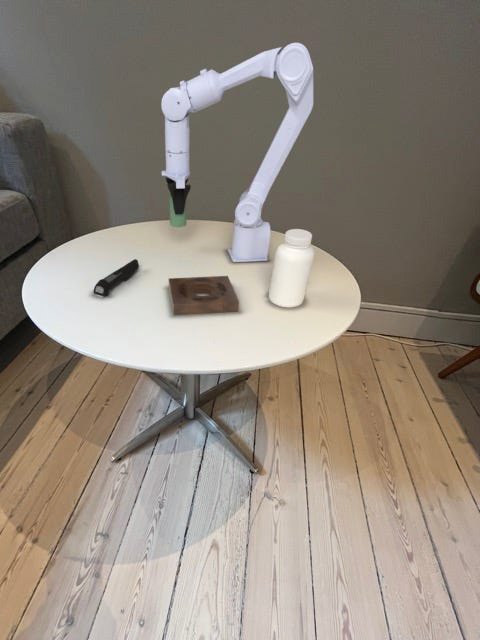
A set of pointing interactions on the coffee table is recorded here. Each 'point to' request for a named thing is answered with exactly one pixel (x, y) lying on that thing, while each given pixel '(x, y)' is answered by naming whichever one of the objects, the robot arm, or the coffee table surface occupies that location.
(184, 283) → the brown wooden holder tray
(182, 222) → the bottle
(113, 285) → the electric trimmer
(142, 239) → the coffee table surface
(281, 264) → the pill bottle
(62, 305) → the coffee table surface
